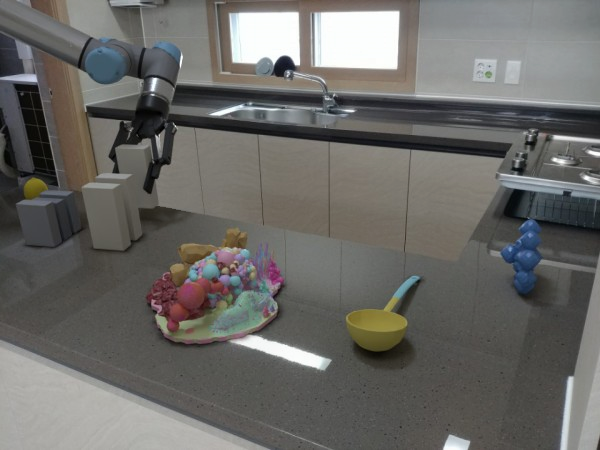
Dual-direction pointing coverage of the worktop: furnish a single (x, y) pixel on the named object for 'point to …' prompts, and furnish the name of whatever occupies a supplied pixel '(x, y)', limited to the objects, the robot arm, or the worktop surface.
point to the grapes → (524, 256)
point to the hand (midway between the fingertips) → (131, 190)
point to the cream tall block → (137, 171)
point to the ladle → (379, 323)
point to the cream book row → (112, 211)
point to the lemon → (34, 188)
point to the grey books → (49, 218)
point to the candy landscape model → (216, 292)
